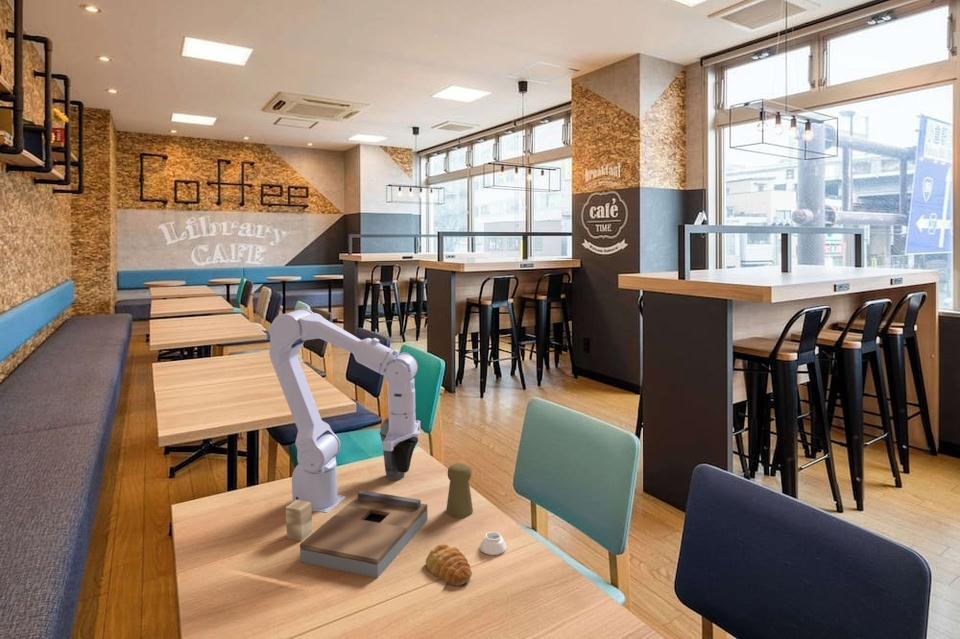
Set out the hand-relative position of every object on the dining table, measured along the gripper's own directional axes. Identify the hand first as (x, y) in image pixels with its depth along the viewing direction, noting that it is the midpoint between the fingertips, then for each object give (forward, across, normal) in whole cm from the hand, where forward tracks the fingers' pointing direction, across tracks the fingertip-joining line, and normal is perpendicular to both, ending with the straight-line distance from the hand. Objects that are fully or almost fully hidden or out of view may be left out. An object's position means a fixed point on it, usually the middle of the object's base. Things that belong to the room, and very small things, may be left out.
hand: (403, 471), depth 129 cm
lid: (+6, -14, +1) cm, 15 cm away
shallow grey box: (+9, -14, +1) cm, 17 cm away
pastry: (+10, -18, -18) cm, 27 cm away
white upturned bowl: (+10, -8, -23) cm, 27 cm away
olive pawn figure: (+10, +3, -12) cm, 16 cm away
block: (+9, -17, +15) cm, 24 cm away
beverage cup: (+10, +16, +10) cm, 21 cm away
